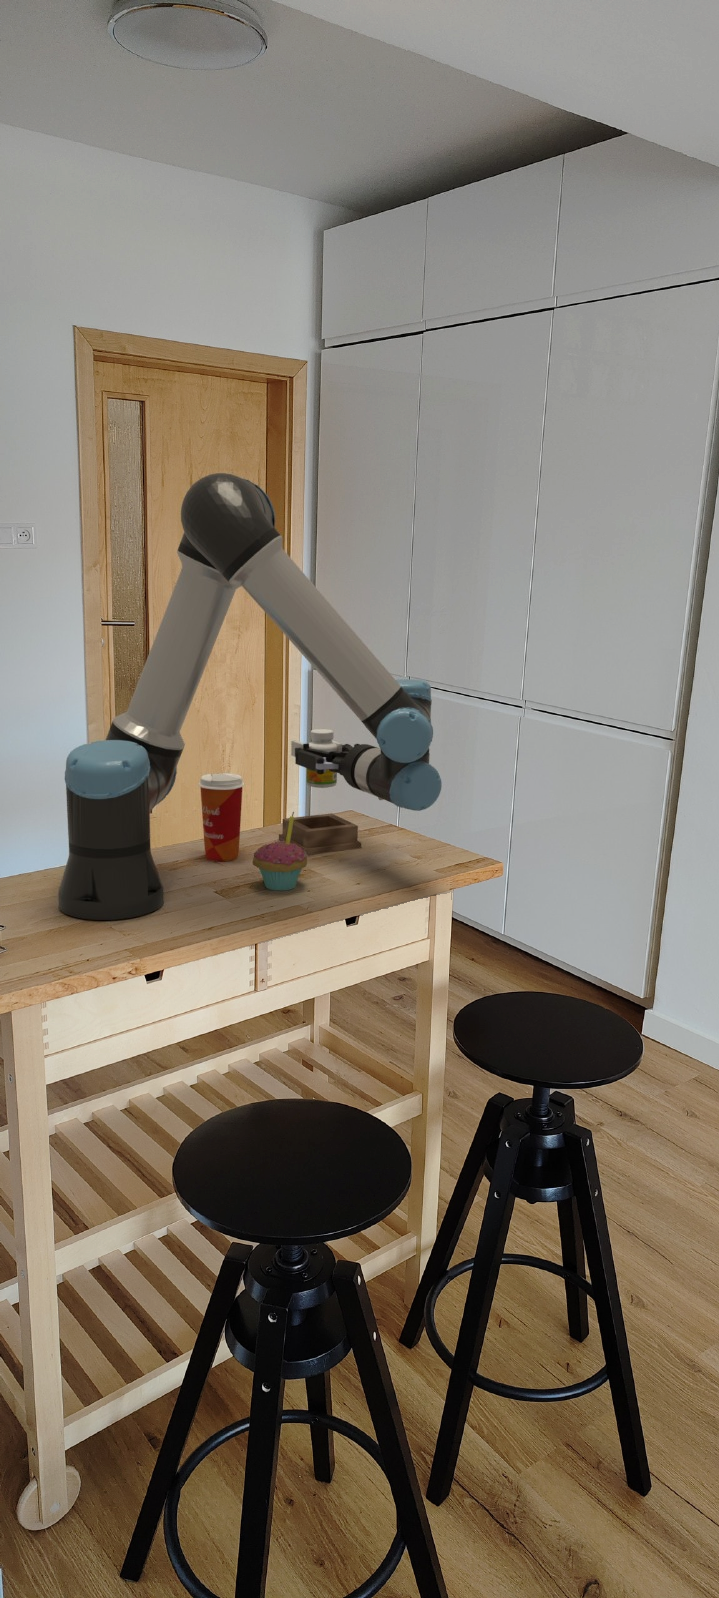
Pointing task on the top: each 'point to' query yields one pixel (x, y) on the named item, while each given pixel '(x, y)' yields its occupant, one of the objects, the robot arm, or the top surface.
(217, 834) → the paper cup
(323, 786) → the supplement bottle
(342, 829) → the socket block
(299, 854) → the cupcake
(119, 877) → the robot arm
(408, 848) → the top surface
